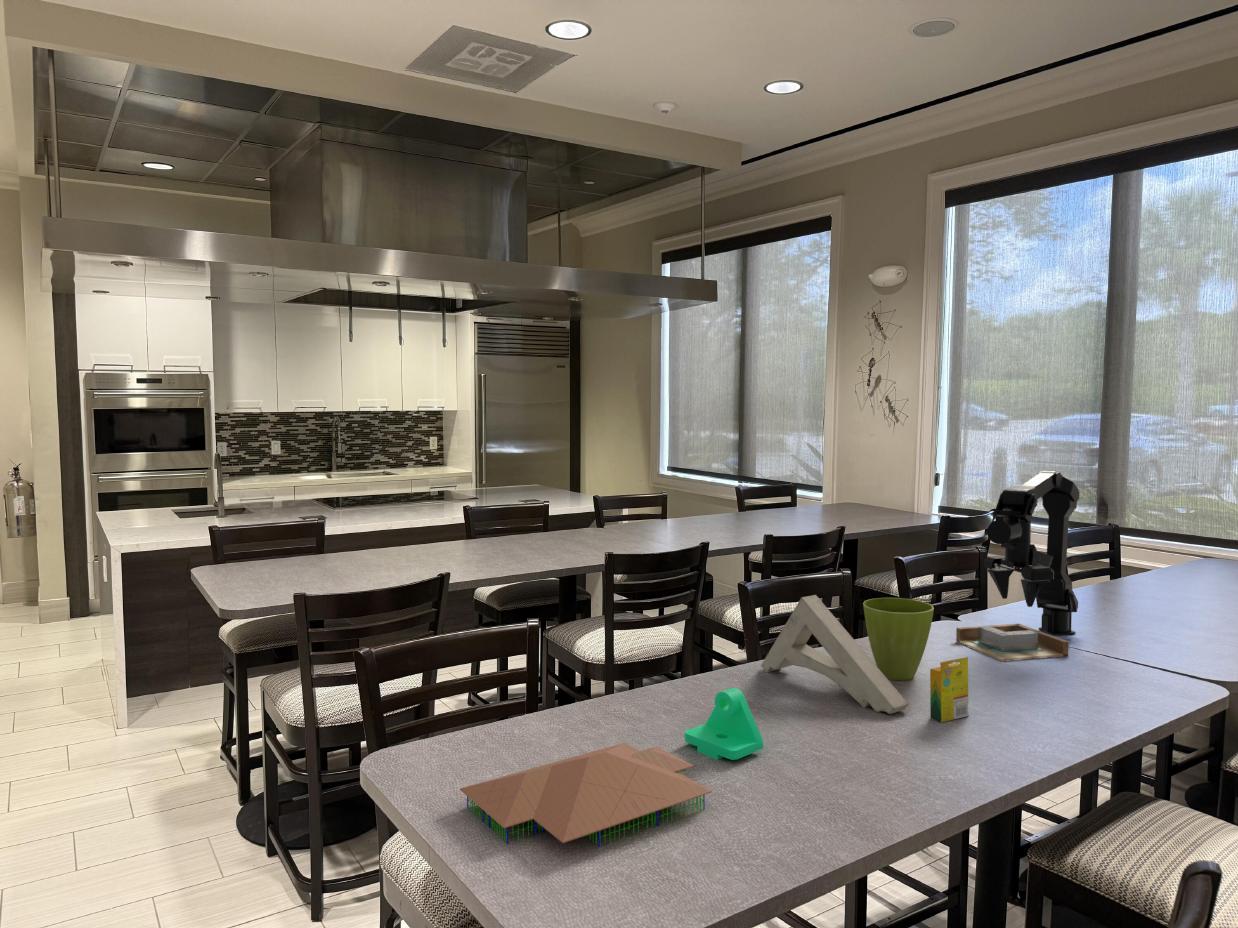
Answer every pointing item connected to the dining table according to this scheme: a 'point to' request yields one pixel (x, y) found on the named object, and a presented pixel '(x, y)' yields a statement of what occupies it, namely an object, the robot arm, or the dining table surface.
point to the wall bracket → (832, 656)
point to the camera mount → (727, 729)
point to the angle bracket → (1007, 639)
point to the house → (587, 792)
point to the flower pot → (898, 634)
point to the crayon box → (949, 690)
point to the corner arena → (1046, 648)
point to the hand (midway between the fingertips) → (1017, 602)
